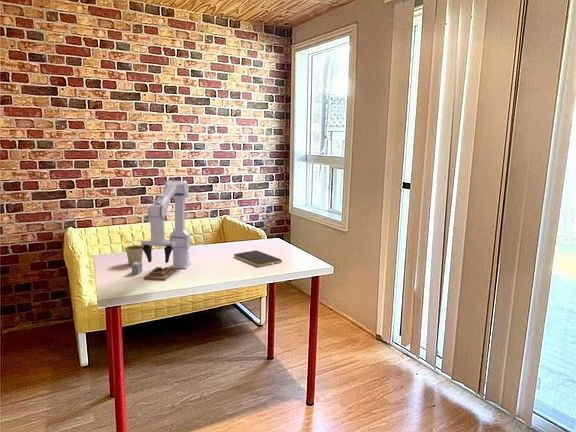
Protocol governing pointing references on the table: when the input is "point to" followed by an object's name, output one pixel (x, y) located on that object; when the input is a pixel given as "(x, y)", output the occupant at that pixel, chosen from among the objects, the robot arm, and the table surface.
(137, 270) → the servo block
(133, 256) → the flower pot
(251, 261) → the hardcover book
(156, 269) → the chassis board
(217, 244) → the table surface
